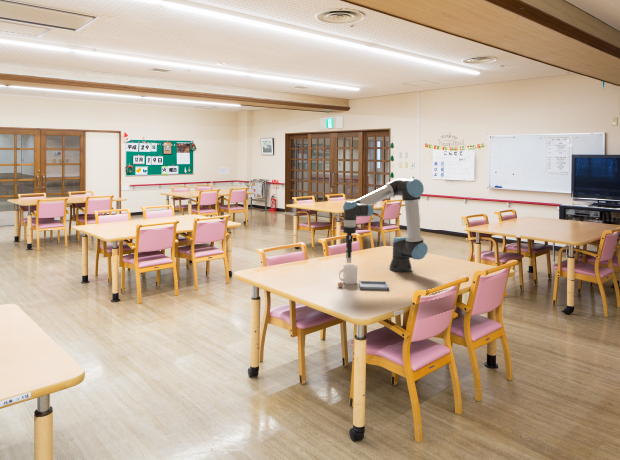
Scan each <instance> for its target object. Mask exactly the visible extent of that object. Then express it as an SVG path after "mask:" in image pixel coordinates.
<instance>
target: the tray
mask: <svg viewBox="0 0 620 460" xmlns="http://www.w3.org/2000/svg"><path fill="white" fill-rule="evenodd" d="M358 286H359V290H360V291H363V290H364V291H365V290H366V291H390V286H389V284H388V282H387V281H386V280H385V281H382V280H358Z"/></svg>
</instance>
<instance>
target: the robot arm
mask: <svg viewBox="0 0 620 460" xmlns="http://www.w3.org/2000/svg"><path fill="white" fill-rule="evenodd" d="M424 188H425V187H424V184H423V182H422V181H421V180H419V179H418V178H417V179H416V178H411V177H409V178H408V177H406V178H405V177H400V178H395V179H393V180H391V181H389V182H386V183H385V184H384V185H383V186H382V187H379V188H378V189H376V190H374V191H372V192H371V191H370V193H367V194H366V195H363V196H362V197H359V198H357V199H355V200H346V201H345V202H344V204H343V221H342V222H343V233H344V234H345V239H346V240H345V241H346V245H345V246H346V248H345V259H346V263H347V264H352V248H353V247H352V244H353V239H354V237H353V235H352V234H356V231H357V217H371V216H373V214H374V206H373V205H374V204H377V203H379V202H381V201H383V200H385V199H387V198H393V197H395V196H401V198H402V201H403V202H404V207H405V220H406V234H407V236H401V237H400V236H398V237H397V236H396V237H394V238H393V240H392V241H393V242H392V259H391V261H390V265H389V270H390V271H393V272H398V273H399V272H401V273H408V272H411V271H412V264H411V261H410V259H413V260H417V261H418V260H421V259H424V258H425V257H426V255H427V254H428V245H427V244H426V243H425V242H424V237H422V235H421V221H420V207H419V201H420V200H421V196H422V195H423V193H424V190H425V189H424Z"/></svg>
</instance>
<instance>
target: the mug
mask: <svg viewBox="0 0 620 460" xmlns="http://www.w3.org/2000/svg"><path fill="white" fill-rule="evenodd" d="M342 267H343V268H342V269H341V270H340V271H339V273H338V277H339V280H340V282H342V283H343V284H346V285H356V284H357V283H358V265H355V264H352V263H347V264H344V265H343V266H342ZM341 274H342V278H341Z"/></svg>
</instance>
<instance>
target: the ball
mask: <svg viewBox="0 0 620 460" xmlns="http://www.w3.org/2000/svg"><path fill="white" fill-rule="evenodd" d="M343 286H344V282H343V281H339V282H338V283H337V287H338V288H343Z"/></svg>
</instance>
